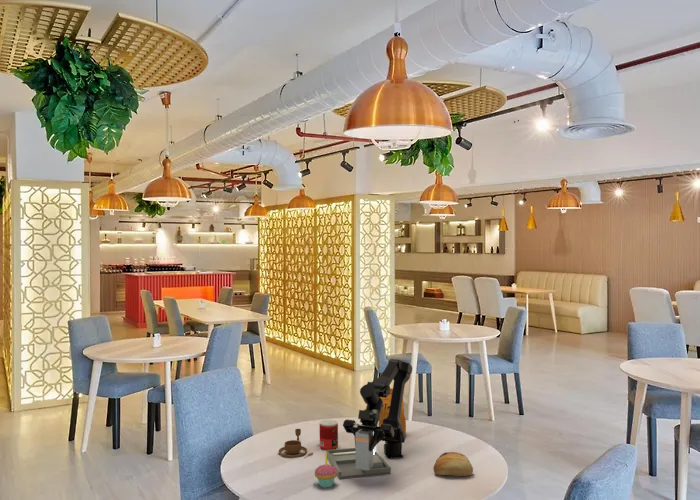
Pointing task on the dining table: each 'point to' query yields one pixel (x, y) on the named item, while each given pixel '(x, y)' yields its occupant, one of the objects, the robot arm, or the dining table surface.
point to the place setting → (294, 447)
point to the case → (347, 464)
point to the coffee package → (385, 411)
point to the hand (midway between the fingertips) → (363, 450)
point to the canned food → (328, 434)
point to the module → (364, 449)
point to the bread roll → (453, 464)
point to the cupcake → (326, 474)
